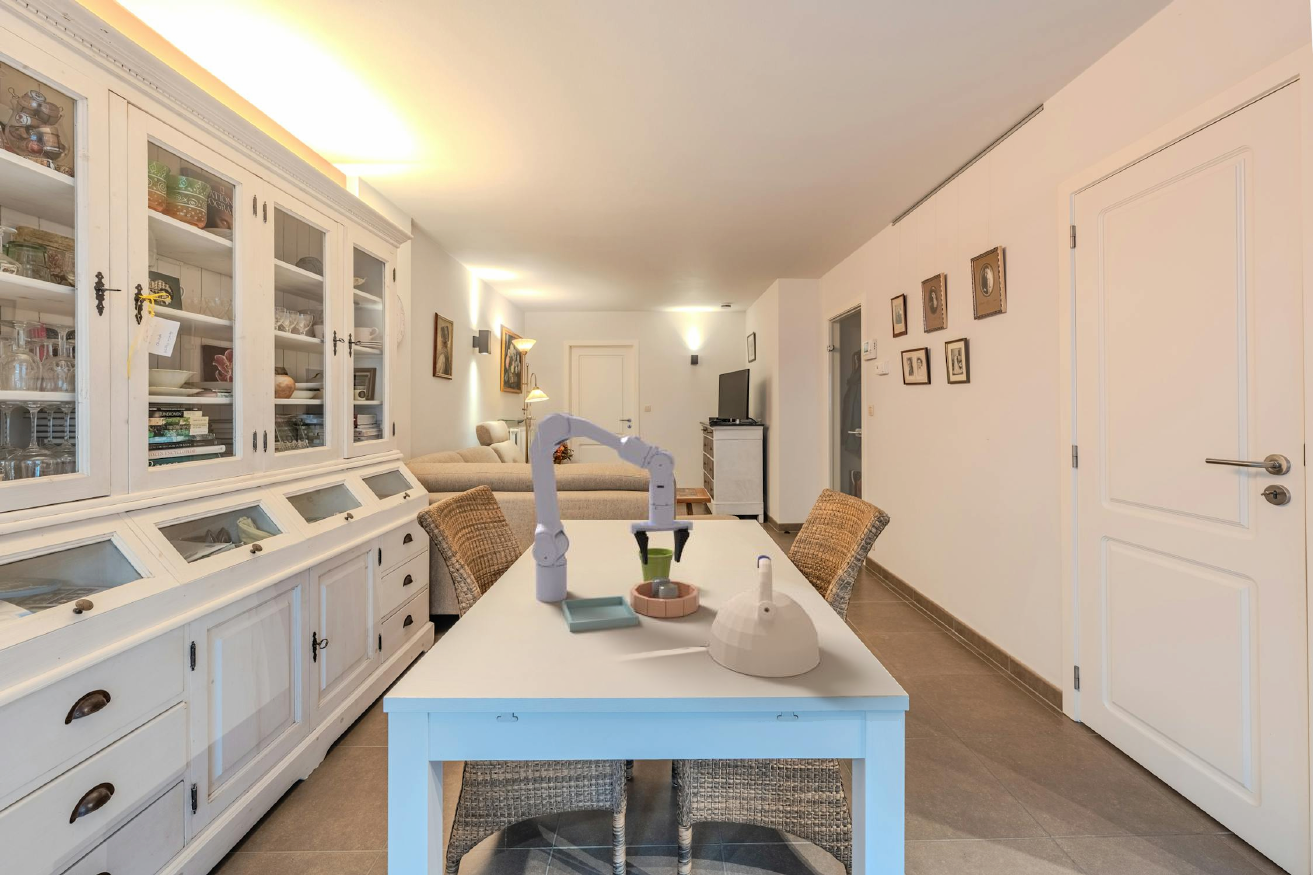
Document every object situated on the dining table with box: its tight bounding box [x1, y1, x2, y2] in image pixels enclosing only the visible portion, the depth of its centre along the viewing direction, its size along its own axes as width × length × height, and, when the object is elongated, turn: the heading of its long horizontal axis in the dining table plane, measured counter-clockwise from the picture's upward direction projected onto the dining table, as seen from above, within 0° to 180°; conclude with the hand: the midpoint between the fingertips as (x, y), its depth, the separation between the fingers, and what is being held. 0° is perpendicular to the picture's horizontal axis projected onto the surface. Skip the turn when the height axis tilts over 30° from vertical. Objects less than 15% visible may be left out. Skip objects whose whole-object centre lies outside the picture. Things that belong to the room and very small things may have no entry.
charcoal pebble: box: [653, 577, 671, 599], centre depth 132 cm, size 4×4×5 cm
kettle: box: [708, 555, 821, 678], centre depth 106 cm, size 20×21×18 cm
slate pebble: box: [659, 584, 677, 599], centre depth 126 cm, size 4×4×5 cm
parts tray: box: [561, 594, 639, 633], centre depth 122 cm, size 14×14×2 cm
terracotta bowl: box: [629, 579, 700, 619], centre depth 129 cm, size 15×15×4 cm
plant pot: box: [637, 547, 674, 582], centre depth 147 cm, size 9×9×9 cm
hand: (661, 562), depth 131 cm, fingers open, 7 cm apart
